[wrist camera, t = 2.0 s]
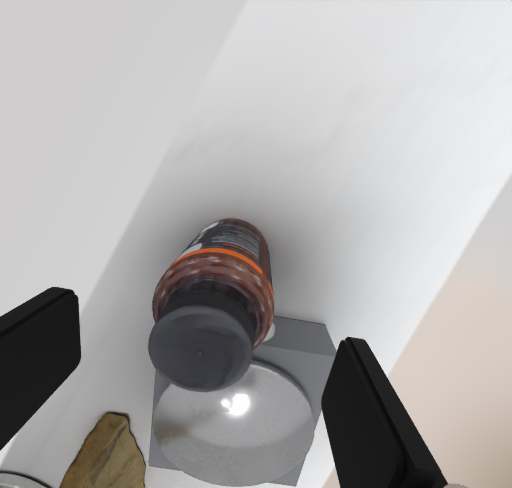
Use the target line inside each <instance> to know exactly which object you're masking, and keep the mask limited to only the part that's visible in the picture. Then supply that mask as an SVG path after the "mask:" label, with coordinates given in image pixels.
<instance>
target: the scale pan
mask: <svg viewBox="0 0 512 488" xmlns="http://www.w3.org/2000/svg"><path fill="white" fill-rule="evenodd" d="M153 429H154V434H155V438H156V441H157V443H158V445H159V447H160V449H161V451H162V452H163V453H164V455H165V456H166V457H167V458H168V459H169V460H170V461H171V462H172V463H173V464H174V465H175V466H176V467H177V468H179V469H180V470H182V471H183V472H185V473H186V474H188V475H190V476H192V477H194V478H197V479H199V480H202V481H205V482H208V483H212V484H217V485H222V486H232V487H242V486H252V485H258V484H263V483H266V482H270V481H272V480H275V479H277V478H279V477H281V476H283V475H285V474H287V473H288V472H290V471H291V470H293V469H294V468H295V467H296V466H297V465H298V464H300V462H301V461H302V460H303V459H304V458H305V456H306V455H307V453H308V452H309V450H310V447H311V445H312V442H313V438H314V429H315V427H314V419H313V415H312V410H311V407H310V403H309V401H308V399H307V397H306V394H305V393H304V392H303V390H302V389H301V387H300V386H299V385H298V384H297V383H296V382H295V381H294V380H293V379H292V378H291V377H289V376H288V375H287V374H285V373H284V372H282V371H280V370H279V369H277V368H275V367H273V366H270V365H268V364H265V363H262V362H259V361H255V360H251V363H250V366H249V368H248V370H247V372H246V373H245V374H244V375H243V377H242V378H241V379H240V380H239V381H237V382H236V383H234V384H233V385H232V386H229V387H227V388H225V389H223V390H219V391H214V392H207V393H205V392H195V391H188V390H186V389H182V388H179V387H177V386H175V385H174V384H172V383H169V384H168V386H167V387H166V388H165V390H164V392H163V393H162V395H161V398H160V400H159V402H158V405H157V407H156V410H155V413H154V419H153Z"/></svg>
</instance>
